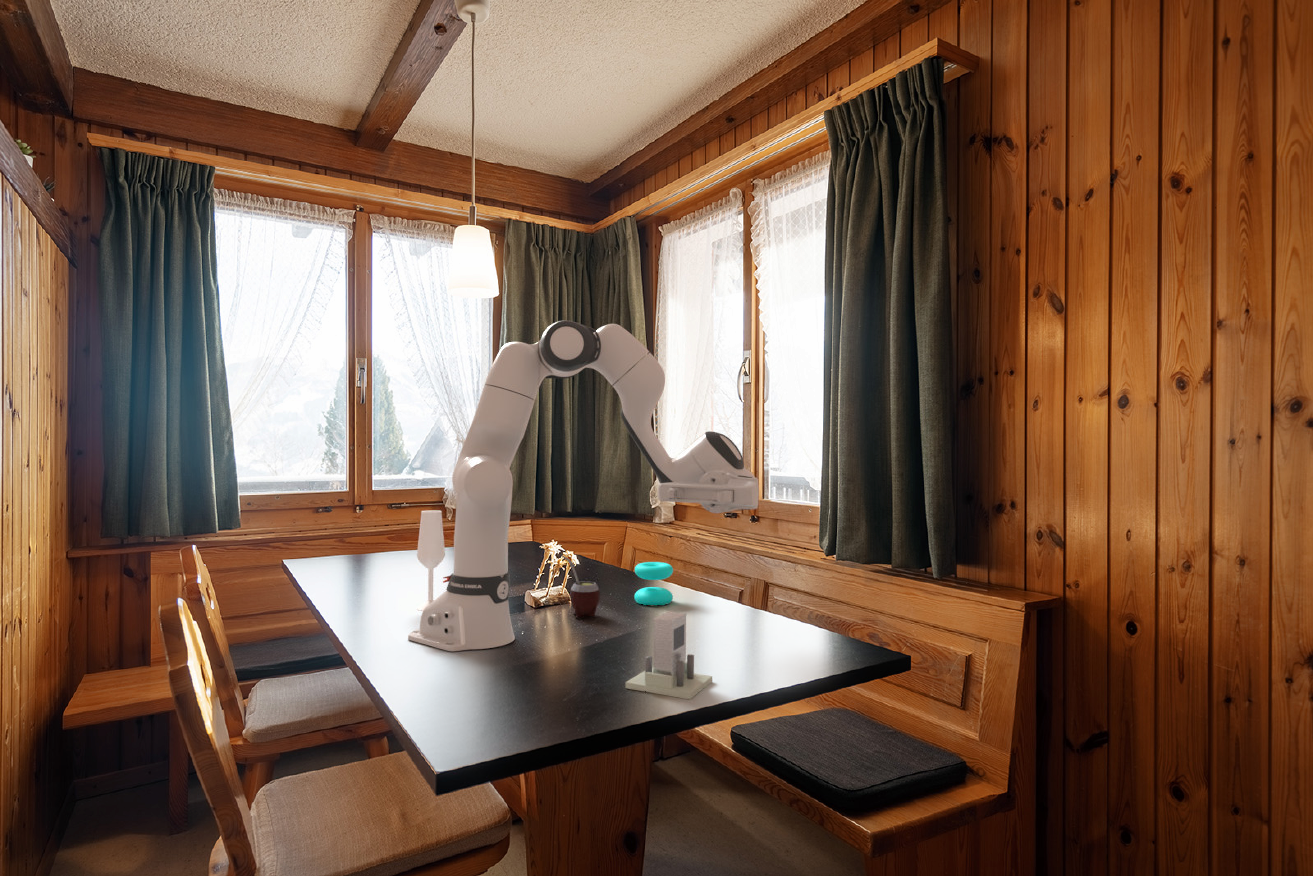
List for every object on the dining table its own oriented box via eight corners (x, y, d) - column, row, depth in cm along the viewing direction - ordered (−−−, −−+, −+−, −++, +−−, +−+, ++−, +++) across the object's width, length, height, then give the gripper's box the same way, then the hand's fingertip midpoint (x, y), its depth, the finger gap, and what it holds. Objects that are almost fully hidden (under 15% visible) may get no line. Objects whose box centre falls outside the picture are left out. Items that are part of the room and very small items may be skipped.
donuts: (675, 561, 201) (670, 568, 191) (675, 599, 201) (669, 608, 191) (638, 560, 202) (631, 566, 192) (638, 597, 202) (630, 606, 192)
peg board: (625, 688, 130) (625, 659, 130) (651, 672, 139) (651, 644, 139) (689, 699, 125) (690, 669, 125) (712, 681, 134) (712, 653, 134)
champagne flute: (419, 605, 191) (420, 509, 191) (446, 604, 191) (447, 509, 191) (413, 611, 184) (414, 512, 184) (442, 610, 185) (443, 512, 185)
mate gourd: (605, 616, 182) (605, 553, 181) (585, 622, 175) (585, 557, 175) (580, 611, 186) (581, 550, 185) (560, 618, 179) (560, 554, 179)
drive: (653, 682, 130) (653, 618, 130) (667, 672, 135) (668, 611, 135) (671, 685, 128) (672, 620, 128) (685, 675, 134) (686, 613, 134)
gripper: (673, 474, 162) (644, 477, 150) (765, 478, 153) (742, 481, 141) (673, 504, 162) (644, 509, 150) (765, 509, 153) (742, 515, 141)
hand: (692, 495), depth 145 cm, fingers open, 8 cm apart
